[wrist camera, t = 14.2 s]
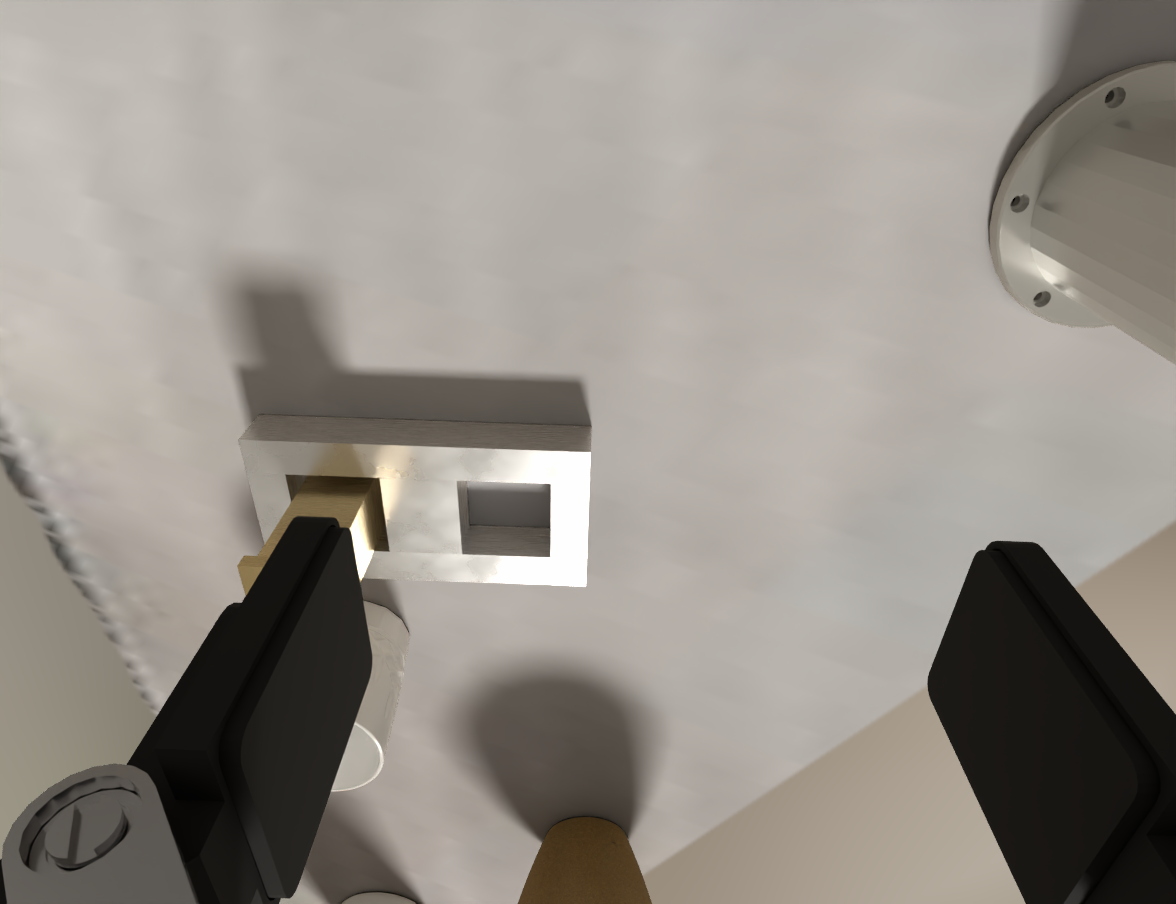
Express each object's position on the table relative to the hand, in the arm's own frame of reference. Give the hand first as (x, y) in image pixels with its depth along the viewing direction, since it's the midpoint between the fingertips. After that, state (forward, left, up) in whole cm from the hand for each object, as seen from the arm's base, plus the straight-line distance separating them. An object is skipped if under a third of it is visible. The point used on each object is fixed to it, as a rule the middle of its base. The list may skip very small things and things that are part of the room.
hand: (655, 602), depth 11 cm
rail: (+11, +19, -30) cm, 37 cm away
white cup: (+17, +32, -31) cm, 47 cm away
